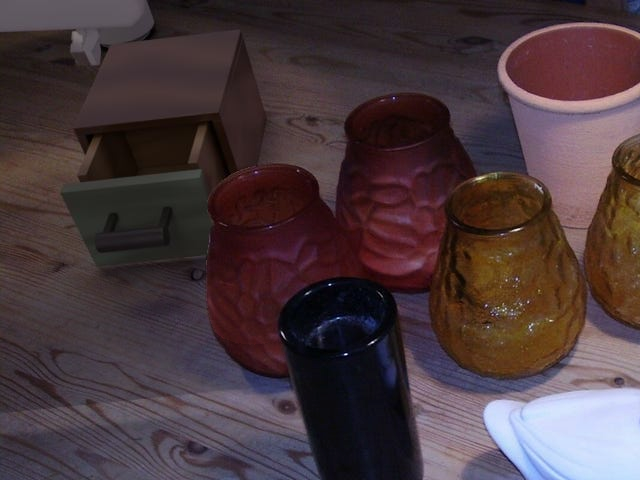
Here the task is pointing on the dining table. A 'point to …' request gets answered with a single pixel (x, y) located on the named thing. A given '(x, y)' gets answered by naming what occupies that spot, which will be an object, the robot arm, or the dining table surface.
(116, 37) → the can
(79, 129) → the cabinet
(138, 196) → the drawer
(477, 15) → the dining table surface
